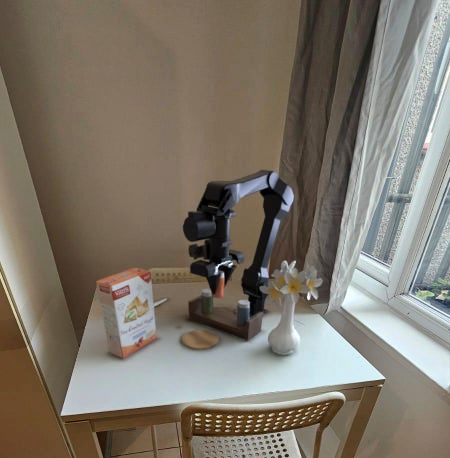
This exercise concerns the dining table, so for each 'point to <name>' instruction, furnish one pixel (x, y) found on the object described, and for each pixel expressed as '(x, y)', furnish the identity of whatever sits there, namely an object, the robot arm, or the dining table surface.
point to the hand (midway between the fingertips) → (217, 291)
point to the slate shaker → (243, 312)
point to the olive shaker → (206, 301)
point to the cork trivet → (200, 339)
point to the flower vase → (288, 303)
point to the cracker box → (127, 310)
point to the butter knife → (159, 302)
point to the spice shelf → (225, 320)
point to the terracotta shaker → (220, 287)
